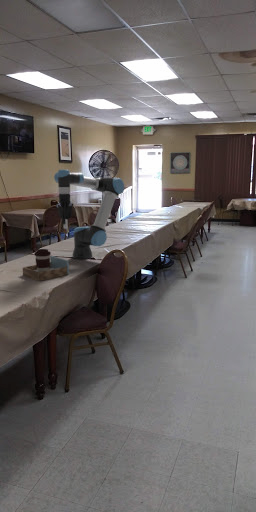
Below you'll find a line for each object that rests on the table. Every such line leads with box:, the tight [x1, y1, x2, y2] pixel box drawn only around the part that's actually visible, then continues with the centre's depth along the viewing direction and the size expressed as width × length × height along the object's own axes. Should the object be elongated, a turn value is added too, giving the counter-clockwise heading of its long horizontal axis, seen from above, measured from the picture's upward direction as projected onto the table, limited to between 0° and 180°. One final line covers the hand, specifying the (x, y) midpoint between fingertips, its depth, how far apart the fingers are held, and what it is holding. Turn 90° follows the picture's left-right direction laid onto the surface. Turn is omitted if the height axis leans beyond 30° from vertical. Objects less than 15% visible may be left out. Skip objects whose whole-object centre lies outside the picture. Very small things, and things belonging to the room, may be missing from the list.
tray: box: [34, 255, 70, 276], centre depth 250 cm, size 21×19×9 cm
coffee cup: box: [33, 248, 52, 272], centre depth 247 cm, size 10×10×15 cm
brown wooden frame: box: [22, 262, 67, 282], centre depth 250 cm, size 20×19×5 cm
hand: (65, 228), depth 264 cm, fingers closed
